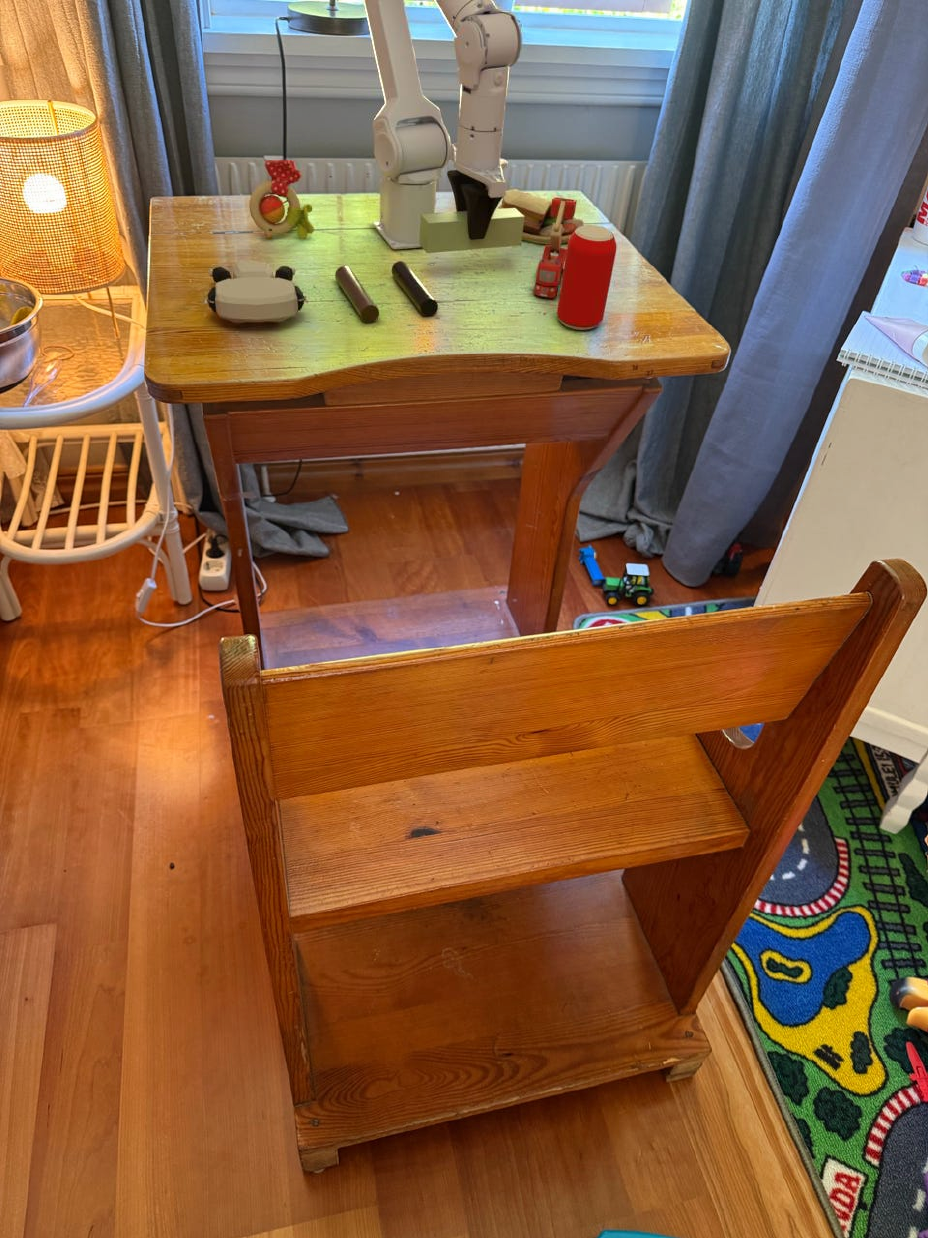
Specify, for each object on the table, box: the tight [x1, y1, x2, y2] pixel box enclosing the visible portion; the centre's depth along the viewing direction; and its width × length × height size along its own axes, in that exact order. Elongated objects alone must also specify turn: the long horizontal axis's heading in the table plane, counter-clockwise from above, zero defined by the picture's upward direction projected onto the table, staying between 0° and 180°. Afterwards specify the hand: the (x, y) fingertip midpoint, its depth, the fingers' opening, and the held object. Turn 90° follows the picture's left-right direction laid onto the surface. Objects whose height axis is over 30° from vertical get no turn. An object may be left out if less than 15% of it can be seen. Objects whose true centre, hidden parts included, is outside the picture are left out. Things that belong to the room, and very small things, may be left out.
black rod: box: [391, 260, 439, 318], centre depth 123 cm, size 12×2×2 cm, turn 22°
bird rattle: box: [249, 158, 315, 240], centre depth 131 cm, size 6×11×9 cm
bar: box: [419, 208, 524, 254], centre depth 126 cm, size 14×3×4 cm, turn 112°
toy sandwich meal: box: [497, 188, 585, 245], centre depth 142 cm, size 12×14×5 cm
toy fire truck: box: [533, 196, 578, 299], centre depth 127 cm, size 3×14×10 cm, turn 168°
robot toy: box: [204, 260, 309, 324], centre depth 116 cm, size 12×4×15 cm
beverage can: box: [556, 224, 618, 331], centre depth 117 cm, size 6×6×12 cm
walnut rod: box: [334, 265, 380, 324], centre depth 120 cm, size 12×2×2 cm, turn 22°
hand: (471, 232), depth 126 cm, fingers closed on bar, 3 cm apart
